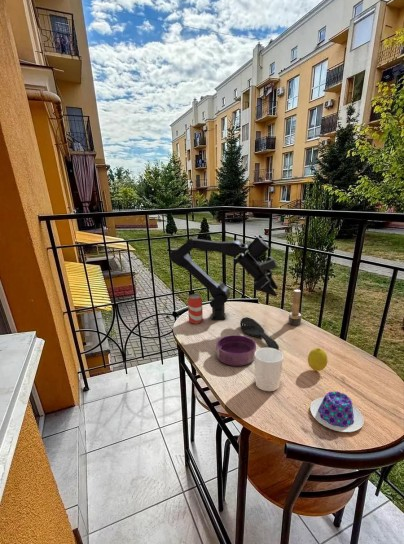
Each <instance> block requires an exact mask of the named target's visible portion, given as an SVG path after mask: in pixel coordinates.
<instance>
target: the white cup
mask: <svg viewBox="0 0 404 544" xmlns="http://www.w3.org/2000/svg"><path fill="white" fill-rule="evenodd" d="M283 362H284V353H283V352H282V351H280V349H279V350H277V349H274V348H269V347H260V348H258V349H256V351H255V359H254V377H255V385H256V387H257V389H259V390H261V391H264V392H274V391H276V390H279V387H280V383H281V378H282V371H283Z"/></svg>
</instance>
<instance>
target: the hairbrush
mask: <svg viewBox="0 0 404 544" xmlns="http://www.w3.org/2000/svg"><path fill="white" fill-rule="evenodd" d="M239 324H240V325H239V326H240V330H241V331H242V332H243V333H244V335H247V336H249V337H256V338H257V337H261V338H262V339H263V340H264V341H265V343H266V345H267V347H268V348H274V349H277V350H279V351H280V346H279V344H278V343H277V341H276V340H275V339H273V338H272V337H270V336H269V335H268V334H267V333H265V329H264V327H263V326H262V325H260V323H259V322H258V321H257V320H254V318H252V317H249V316H243V317H241V319H240V322H239Z"/></svg>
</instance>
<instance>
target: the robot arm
mask: <svg viewBox="0 0 404 544" xmlns="http://www.w3.org/2000/svg"><path fill="white" fill-rule="evenodd" d="M193 249H194V250H195V249H196V250H202V251H210V252H218V253H221V254H223V255H225V256H229V257H231V258H233V266H234V267H235V266H237V264H239V265H240V267H242V268H243V269H244V270H245V271H246V274H247V275H250V277H251V278H253V282H254V283H253V288H254V290H255V291H256V292H257V291H258V292H262V293H265V294H267V295H270V296H273V297H277V296H278V293H277V292H276V291H275V290H278V289H279V287H278V285H277V283H276V282H275V279H274V278H273V271H272V270H274V269H276V268H277V267H278V264H277V262H276V259H275V258H274V257H271V256H268V257H266V258H265V261H263V262H260V261H257V260H256V259H257V258H258V259H260V258H261V257H262V256H263V255H264V254H266V252H267V251H268V250H269V249H270V246H269V244H268V243H267V242H266V241H265V240H263V239H262V238H260V237H259V236H256V237H254V239H253V241H251V243H249V244H246V243H242V242H240V241H239V240H227V241H217V240H208V239H200V238H195V237H191V238H189V239H187V241H185V243H184V244H182V245H181V246H180V247H178V248H175V249H174V250H171V252H170V254H169V259H170V261H171V262H172V263H174V264H175V265H176V266H178V267H181V268H183V269H185V270H186V271H187V272H188V273H190V275H192V276H193V277H194V278H195V279H196V280H197V281H198V282H199V283H200V284H201V285H203V286H204V287H205V288H206V289H207V290H208V291H209V293H210V295H211V298H212V299H211V301H210V302H209V306H210V308H211V317H210V320H213V321H214V320H215V321H216V320H217V321H218V320H226V319H227V318H226V317H227V315H226V311H225V310H226V309H225V308H226V307H225V305H226V303H227V301H228V300H229V298H230V296H231V291H230V289H229V286H226V285H225V283H224V282H223V281H221V282H220V283H219V282H216V281H215V280H214V279H213V278H212V277H211V276H210V275H209V274H207V273H206V272H205V271H204V270H203V269H201V267H200V266H199V265H198V264H196V262H194V261H193V259H192V258H191V255H190V254H189V253H190V252H191V251H192V250H193Z"/></svg>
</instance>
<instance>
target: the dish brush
mask: <svg viewBox="0 0 404 544" xmlns="http://www.w3.org/2000/svg"><path fill="white" fill-rule="evenodd" d="M301 294H302V290H300V289H294V290H293V295H292V305H291V312H289V313H288V320H287V322H288V323H287V324H288V325H291V326H296V327H297V326H300V325H301V323H302V314H301V313H300V305H301Z"/></svg>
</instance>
